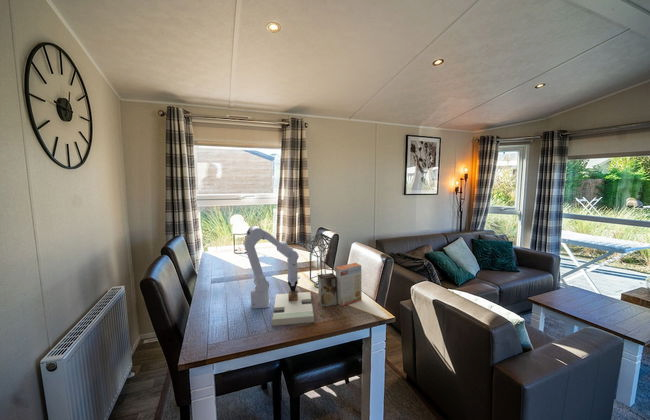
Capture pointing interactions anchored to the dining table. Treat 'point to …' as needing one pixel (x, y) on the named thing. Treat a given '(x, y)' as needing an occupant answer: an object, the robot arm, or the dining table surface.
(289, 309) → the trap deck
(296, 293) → the walnut block
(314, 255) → the geometric lantern
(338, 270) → the cracker box
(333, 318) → the dining table surface
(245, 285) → the dining table surface
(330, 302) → the coffee box
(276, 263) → the dining table surface
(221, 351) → the dining table surface
